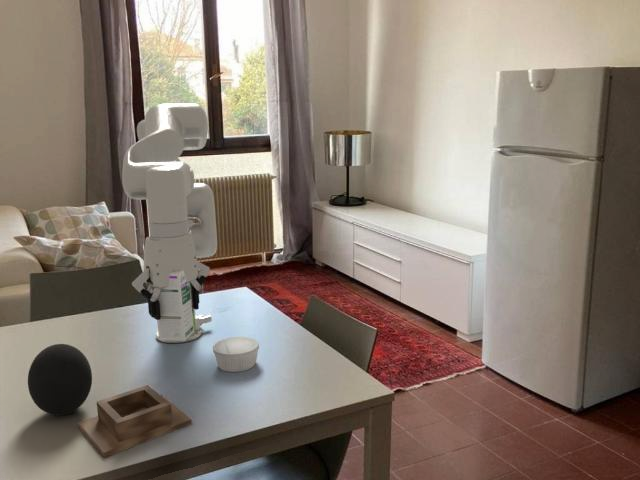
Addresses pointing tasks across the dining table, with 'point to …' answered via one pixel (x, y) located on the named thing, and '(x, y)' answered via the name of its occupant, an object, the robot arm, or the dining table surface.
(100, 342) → the dining table surface
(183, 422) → the walnut holder
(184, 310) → the syrup box
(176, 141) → the robot arm
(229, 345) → the ramekin
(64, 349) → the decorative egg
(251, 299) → the dining table surface
